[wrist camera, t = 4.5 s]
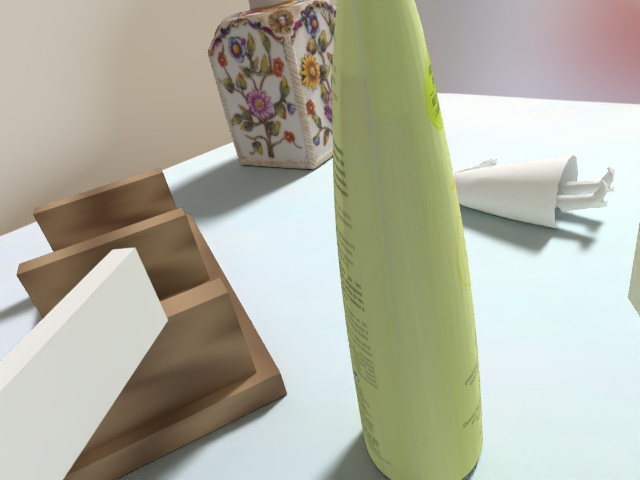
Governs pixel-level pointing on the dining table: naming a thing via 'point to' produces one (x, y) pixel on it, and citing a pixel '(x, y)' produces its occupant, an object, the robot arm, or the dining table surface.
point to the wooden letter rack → (176, 336)
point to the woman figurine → (530, 189)
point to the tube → (402, 249)
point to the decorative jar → (277, 81)
